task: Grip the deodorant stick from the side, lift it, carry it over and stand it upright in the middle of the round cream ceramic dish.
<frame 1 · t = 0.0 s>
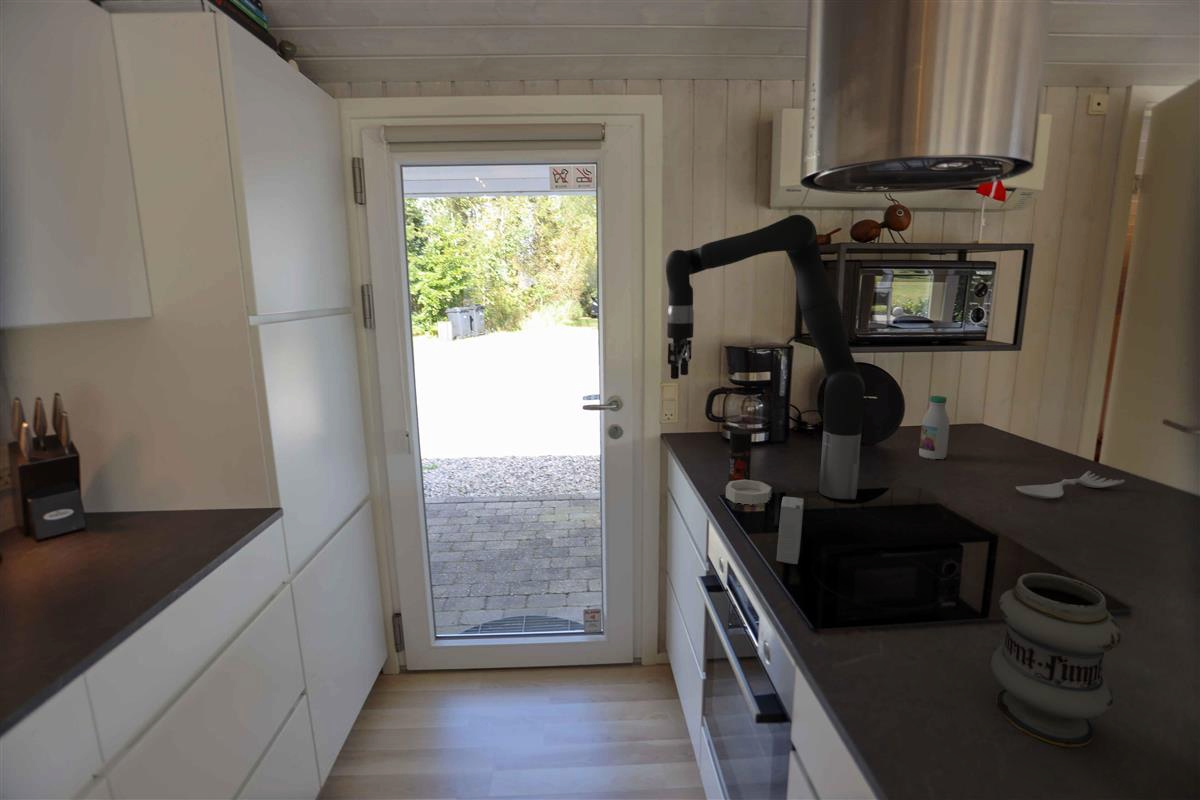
hand: (679, 376, 167), 29 cm above the worktop, tool pointing down, fingers open, 8 cm apart
deodorant: (739, 483, 162), on the worktop
apothecary jar: (1042, 718, 72), on the worktop
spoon: (1065, 493, 152), on the worktop
dish: (748, 497, 150), on the worktop
skincare box: (788, 558, 116), on the worktop
milk bottle: (932, 457, 185), on the worktop
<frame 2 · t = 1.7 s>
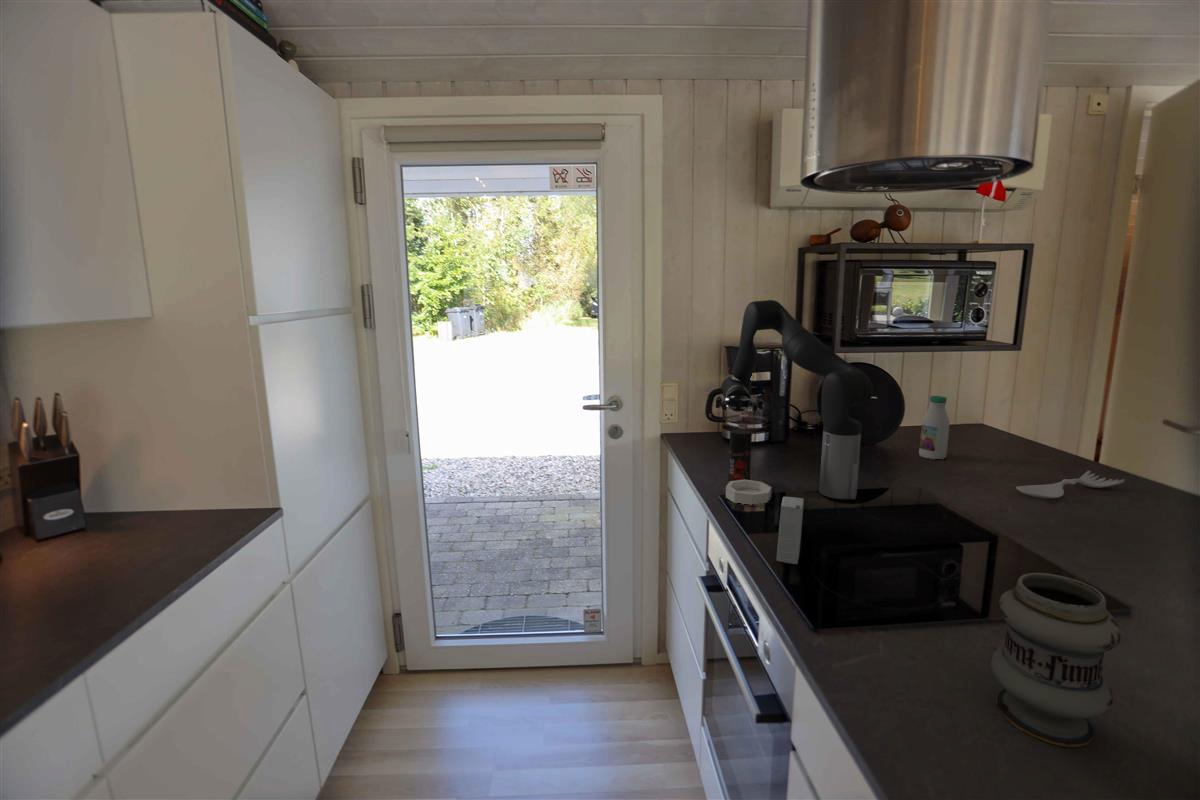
hand: (739, 407, 169), 20 cm above the worktop, tool horizontal, fingers open, 8 cm apart
nothing on the worktop moved.
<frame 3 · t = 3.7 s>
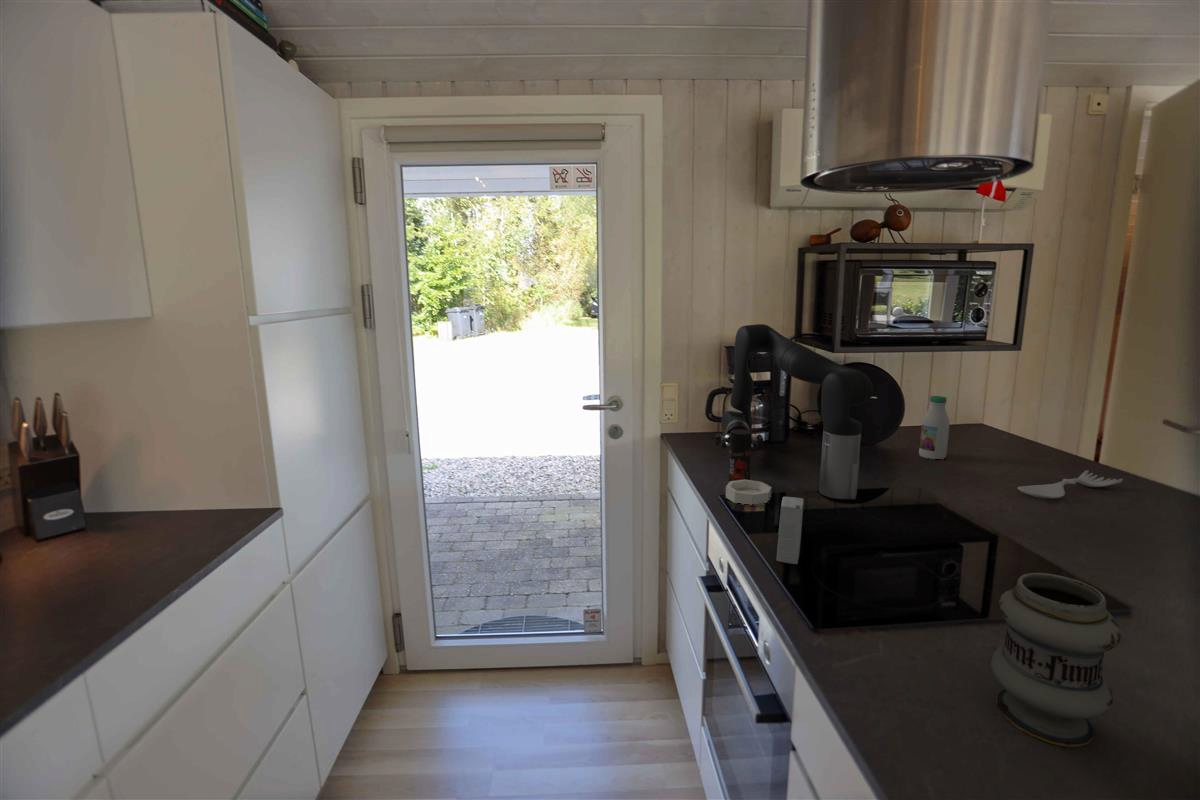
hand: (739, 446, 167), 9 cm above the worktop, tool horizontal, fingers open, 8 cm apart
nothing on the worktop moved.
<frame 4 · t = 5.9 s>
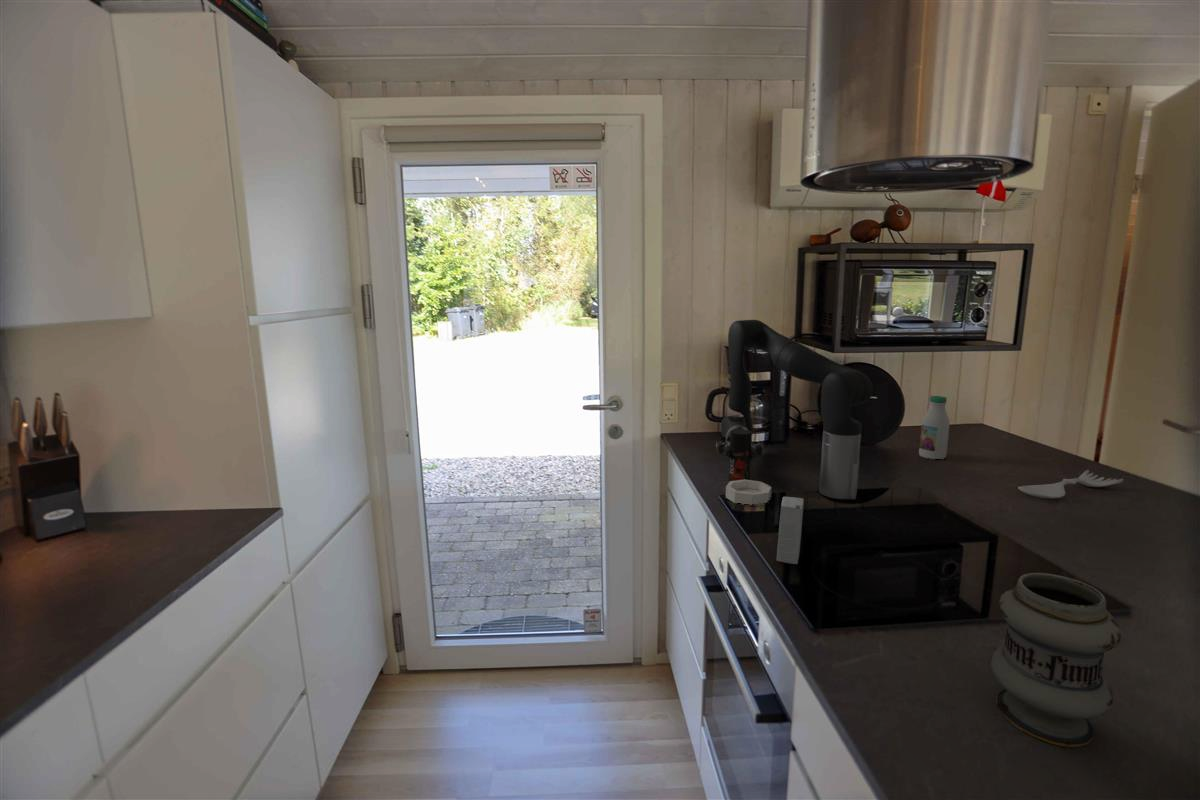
hand: (740, 454, 158), 9 cm above the worktop, tool horizontal, fingers closed on deodorant, 6 cm apart
deodorant: (739, 483, 162), on the worktop, touching gripper
everything else where it was.
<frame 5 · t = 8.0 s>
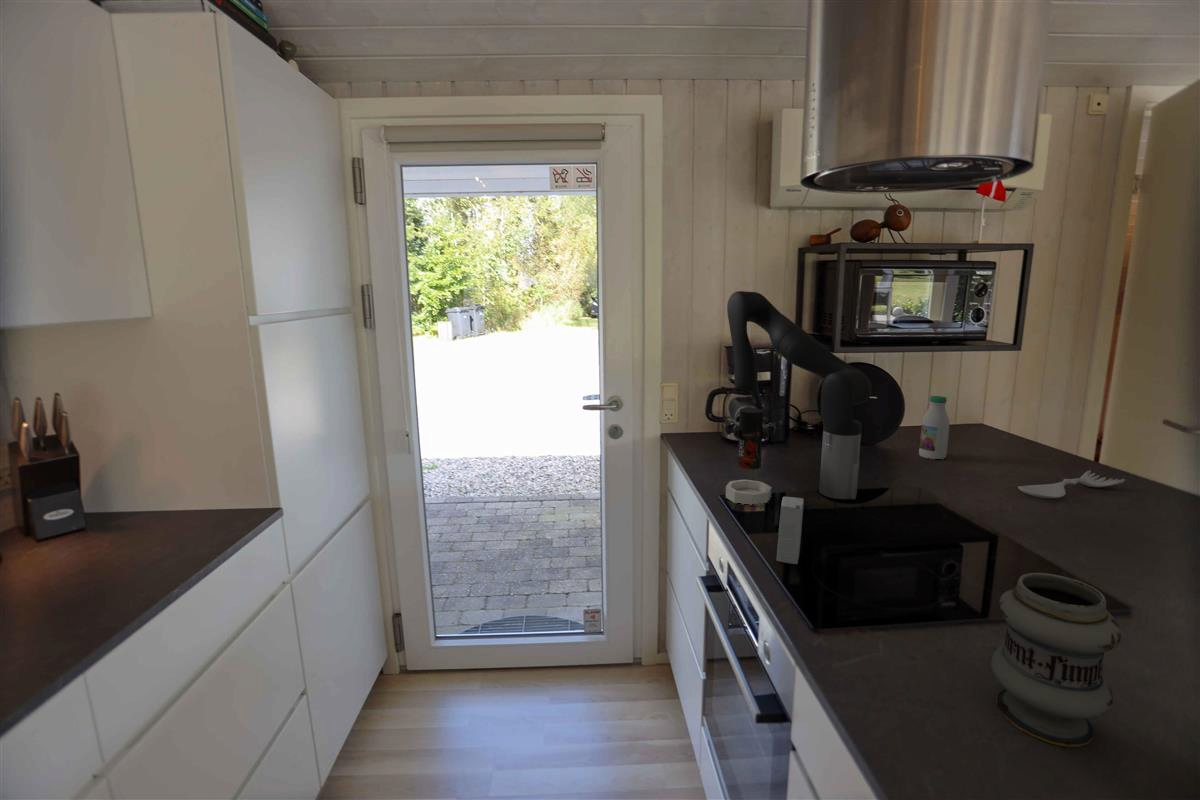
hand: (751, 435, 145), 18 cm above the worktop, tool horizontal, fingers closed on deodorant, 6 cm apart
deodorant: (749, 466, 149), point 8 cm above the worktop, touching gripper
everything else where it was.
when the fingers open (11 cm above the worktop, at t = 10.1 s): deodorant stays where it is, resting on dish.
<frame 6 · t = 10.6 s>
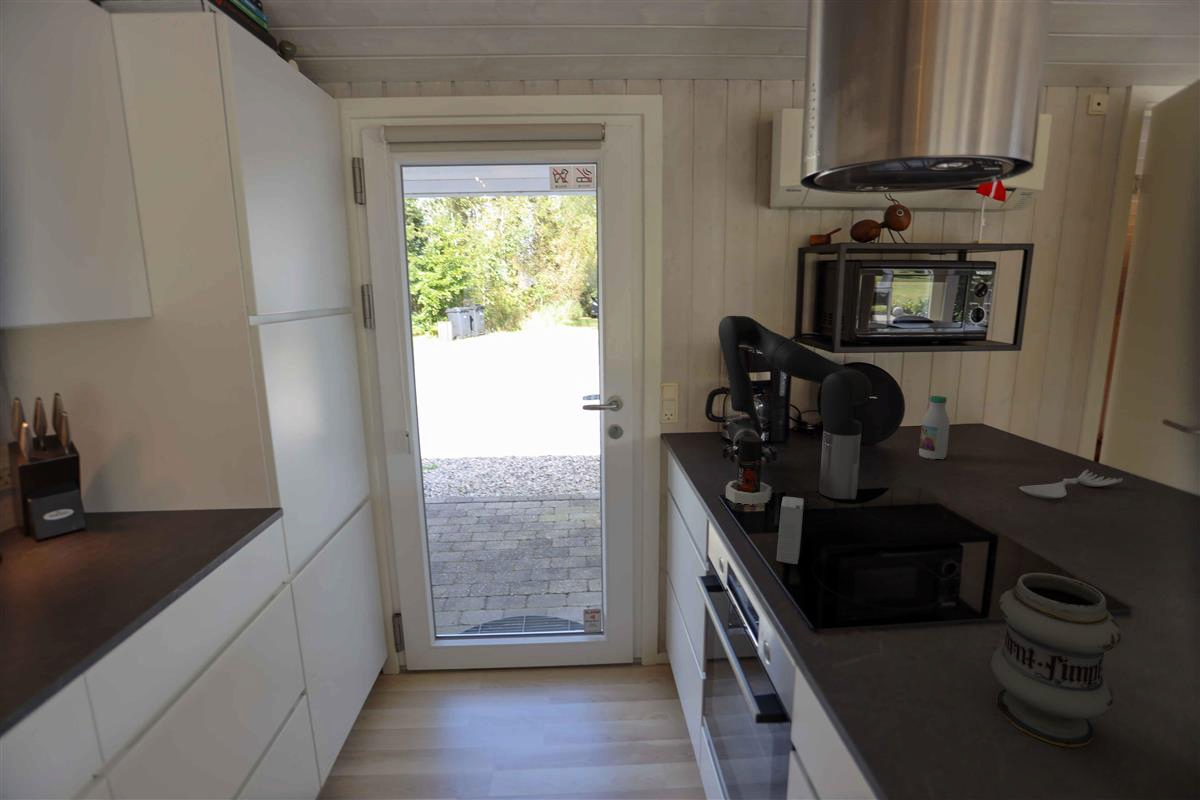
hand: (750, 459, 146), 11 cm above the worktop, tool horizontal, fingers open, 8 cm apart
deodorant: (748, 494, 150), point 1 cm above the worktop, touching dish
everything else where it was.
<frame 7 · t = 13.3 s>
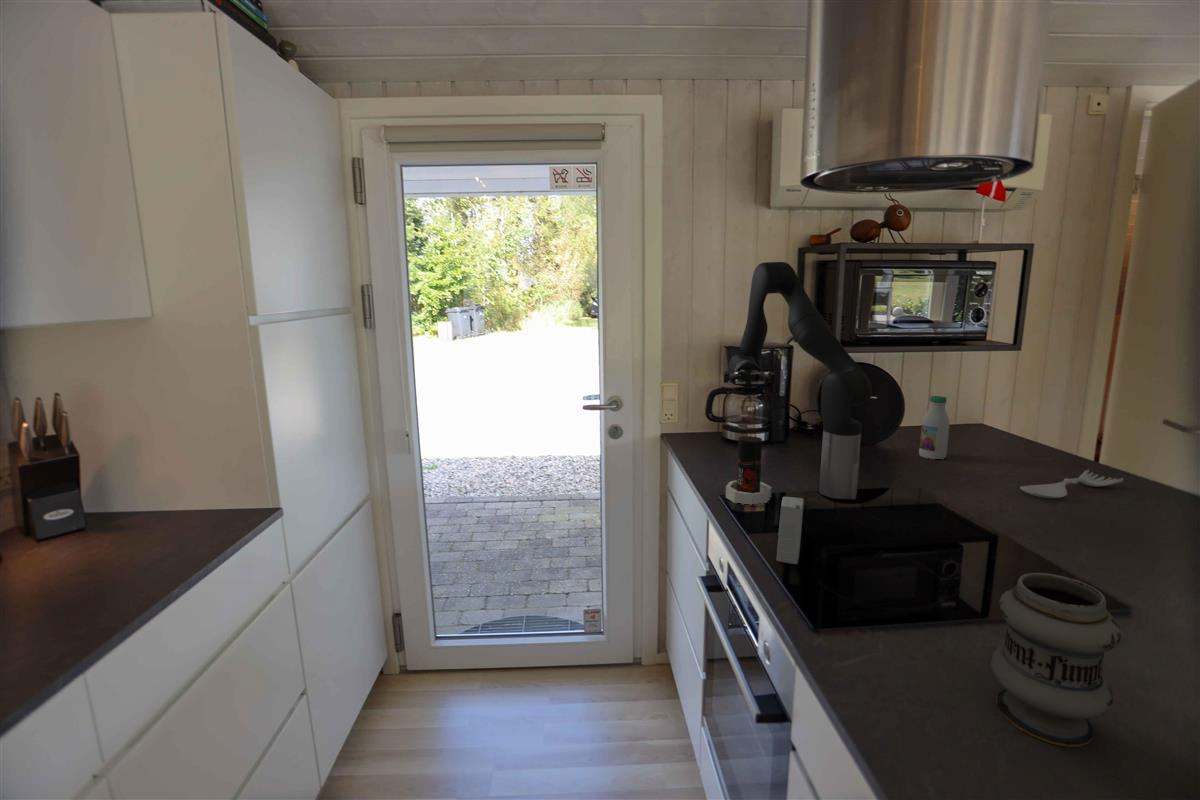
hand: (750, 380, 155), 30 cm above the worktop, tool horizontal, fingers open, 8 cm apart
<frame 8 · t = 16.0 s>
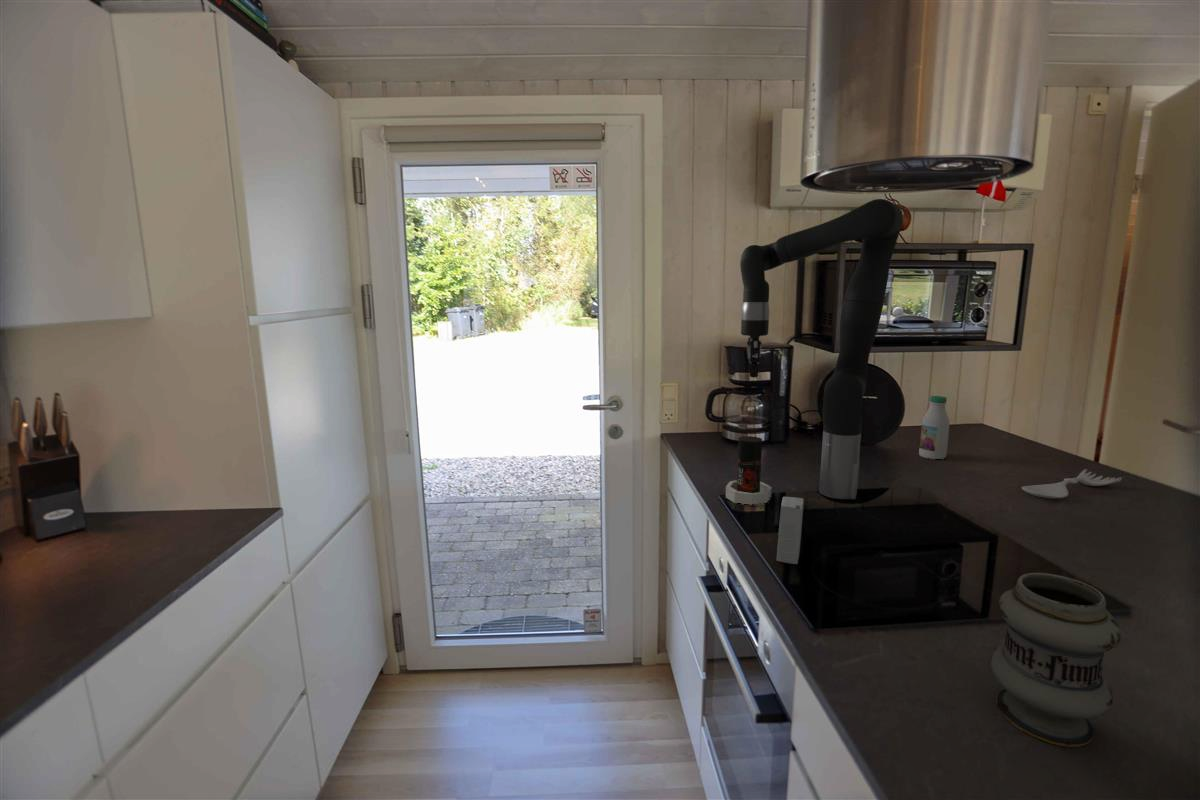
hand: (752, 375, 163), 30 cm above the worktop, tool pointing down, fingers open, 8 cm apart
at the end: deodorant inside the target area on the dish (0.1 cm from its centre), point 0.8 cm above the dish's base; deodorant tilted 0°; the gripper is holding nothing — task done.
